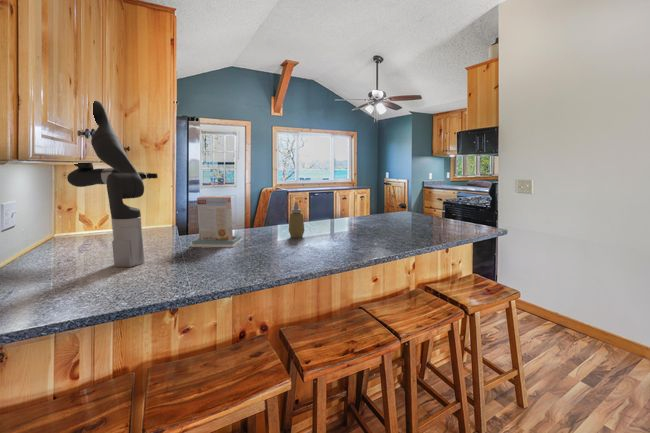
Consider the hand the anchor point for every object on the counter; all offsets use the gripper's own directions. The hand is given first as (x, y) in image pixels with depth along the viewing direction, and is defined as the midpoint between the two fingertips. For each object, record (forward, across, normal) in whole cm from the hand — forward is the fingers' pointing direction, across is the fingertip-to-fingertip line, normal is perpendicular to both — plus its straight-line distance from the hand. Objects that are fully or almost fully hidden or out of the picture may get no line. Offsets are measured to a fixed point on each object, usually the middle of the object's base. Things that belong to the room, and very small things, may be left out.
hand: (151, 176), depth 148 cm
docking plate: (+26, +6, +32) cm, 41 cm away
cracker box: (+25, +6, +31) cm, 40 cm away
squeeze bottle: (+60, +22, +32) cm, 72 cm away
